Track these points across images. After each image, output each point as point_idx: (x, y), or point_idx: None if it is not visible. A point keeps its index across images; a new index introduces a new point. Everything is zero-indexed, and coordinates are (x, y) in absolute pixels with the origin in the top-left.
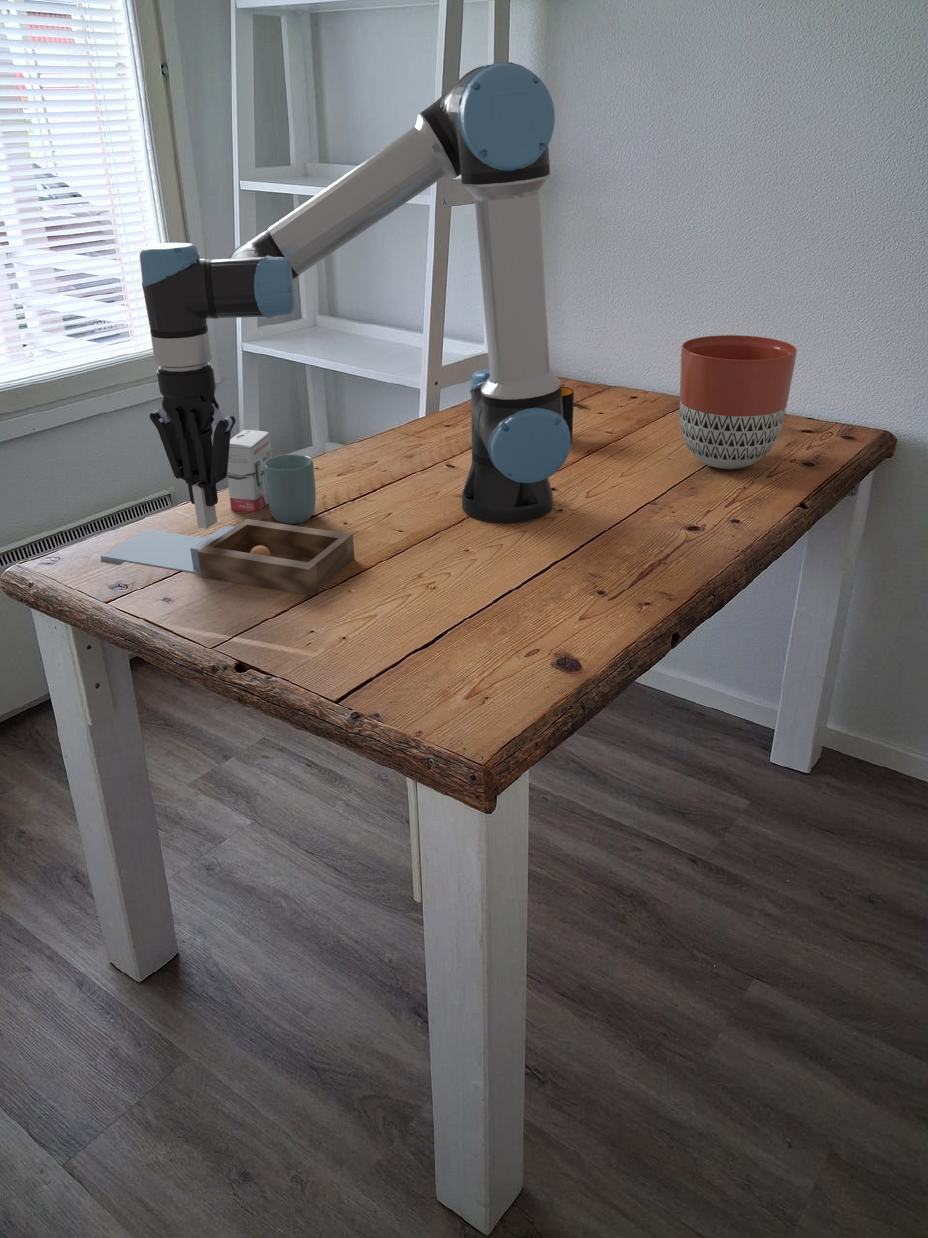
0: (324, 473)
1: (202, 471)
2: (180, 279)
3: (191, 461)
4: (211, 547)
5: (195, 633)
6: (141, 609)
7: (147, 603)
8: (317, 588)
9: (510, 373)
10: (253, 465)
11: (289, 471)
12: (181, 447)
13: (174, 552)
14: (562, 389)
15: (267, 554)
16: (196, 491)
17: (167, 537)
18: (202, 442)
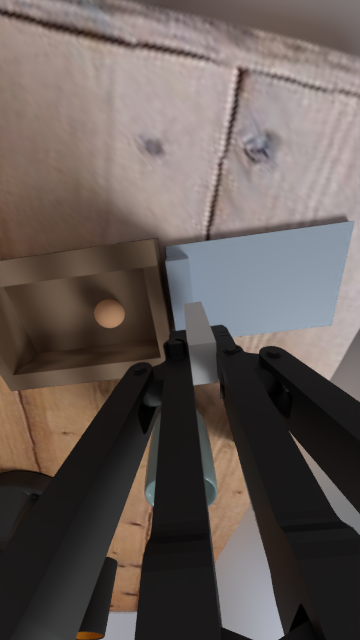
0: (225, 488)
1: (176, 380)
2: None
3: (232, 405)
4: (143, 265)
5: (4, 45)
6: (164, 83)
7: (172, 114)
8: None
9: None
10: (243, 474)
11: (155, 476)
12: (291, 453)
13: (248, 284)
14: (87, 635)
15: (94, 315)
16: (201, 335)
17: (287, 317)
18: (152, 523)
